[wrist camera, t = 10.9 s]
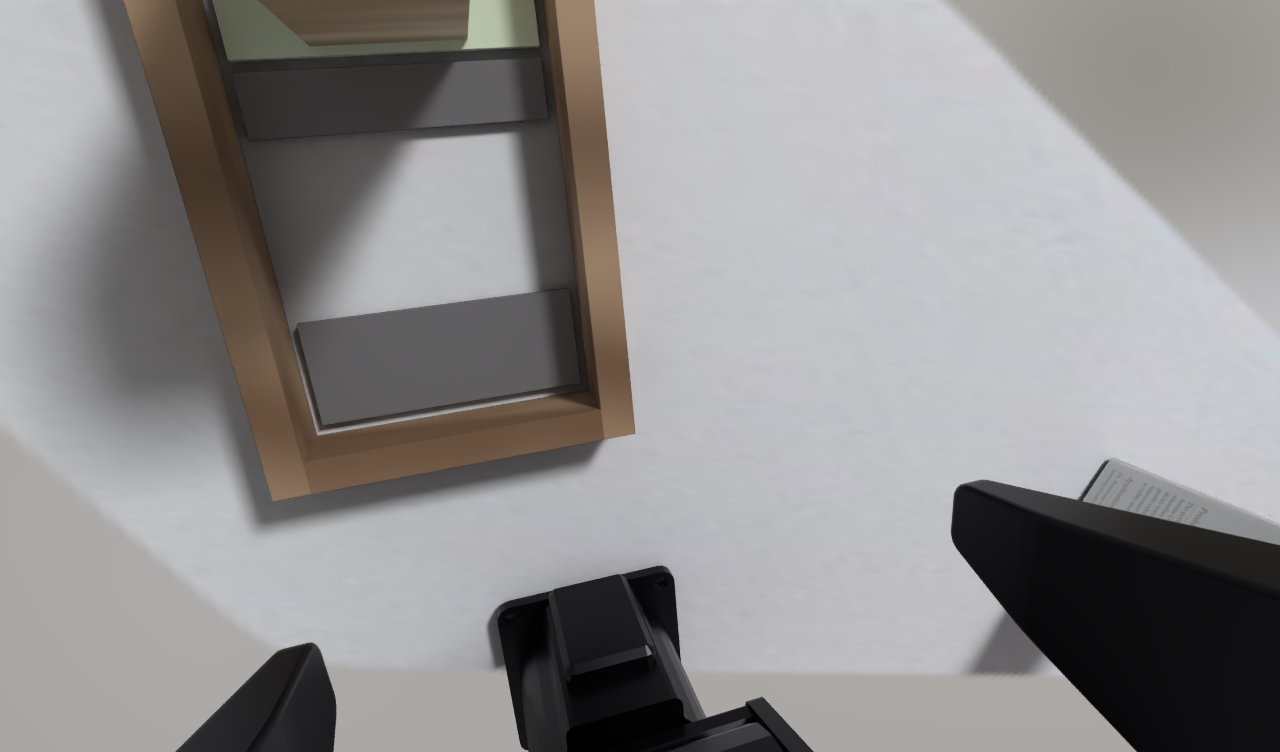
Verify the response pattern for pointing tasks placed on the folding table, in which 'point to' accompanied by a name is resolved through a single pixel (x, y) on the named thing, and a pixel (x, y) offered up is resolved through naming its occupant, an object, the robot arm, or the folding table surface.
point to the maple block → (372, 20)
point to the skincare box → (1175, 502)
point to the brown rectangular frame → (254, 310)
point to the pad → (260, 36)
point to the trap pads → (433, 335)
